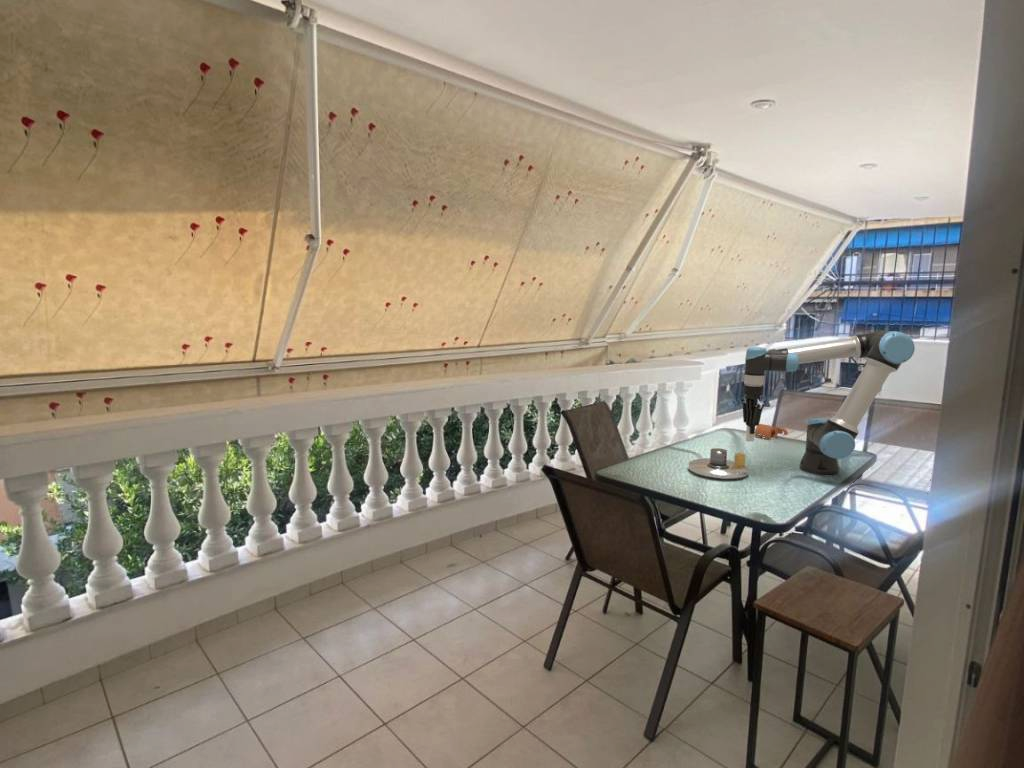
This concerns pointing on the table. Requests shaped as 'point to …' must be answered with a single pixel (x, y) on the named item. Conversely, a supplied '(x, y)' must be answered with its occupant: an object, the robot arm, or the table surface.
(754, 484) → the table surface
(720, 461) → the cover
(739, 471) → the turntable
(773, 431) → the orange elongated piece
